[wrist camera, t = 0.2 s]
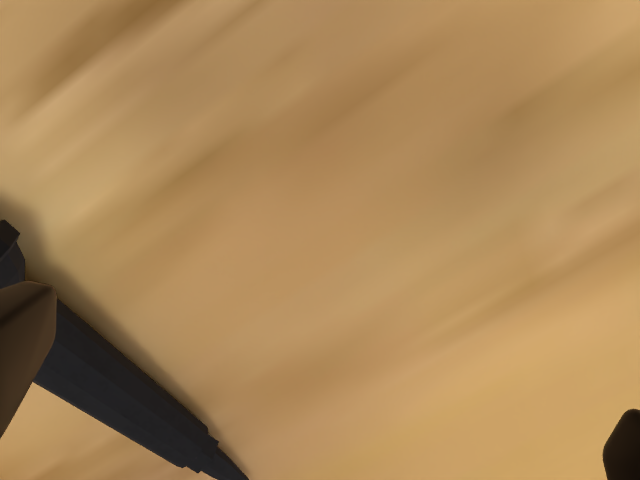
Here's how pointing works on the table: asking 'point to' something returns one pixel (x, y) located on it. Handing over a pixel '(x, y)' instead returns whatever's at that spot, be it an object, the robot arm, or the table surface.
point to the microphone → (116, 385)
